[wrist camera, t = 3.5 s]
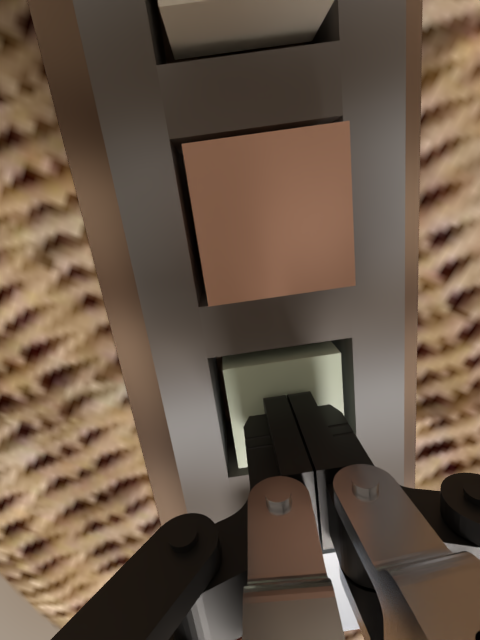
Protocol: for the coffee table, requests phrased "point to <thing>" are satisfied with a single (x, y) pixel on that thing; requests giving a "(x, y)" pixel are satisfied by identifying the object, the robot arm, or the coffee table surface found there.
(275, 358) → the key sage
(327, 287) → the key terracotta
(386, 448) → the keypad
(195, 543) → the robot arm
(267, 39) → the key cream
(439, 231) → the coffee table surface
